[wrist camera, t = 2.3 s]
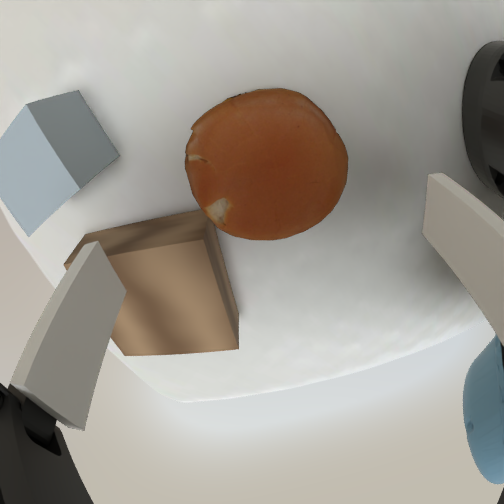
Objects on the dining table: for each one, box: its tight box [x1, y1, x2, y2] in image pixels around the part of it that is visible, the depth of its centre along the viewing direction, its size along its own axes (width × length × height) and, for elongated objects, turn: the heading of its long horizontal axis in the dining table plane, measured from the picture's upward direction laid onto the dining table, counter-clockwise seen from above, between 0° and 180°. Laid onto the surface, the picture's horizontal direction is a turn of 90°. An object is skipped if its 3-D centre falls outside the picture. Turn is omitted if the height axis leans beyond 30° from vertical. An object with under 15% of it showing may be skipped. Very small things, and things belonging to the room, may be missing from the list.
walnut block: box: [64, 210, 239, 356], centre depth 22 cm, size 11×11×4 cm
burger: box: [185, 88, 348, 240], centre depth 16 cm, size 10×9×5 cm
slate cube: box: [0, 90, 120, 237], centre depth 14 cm, size 6×6×6 cm
